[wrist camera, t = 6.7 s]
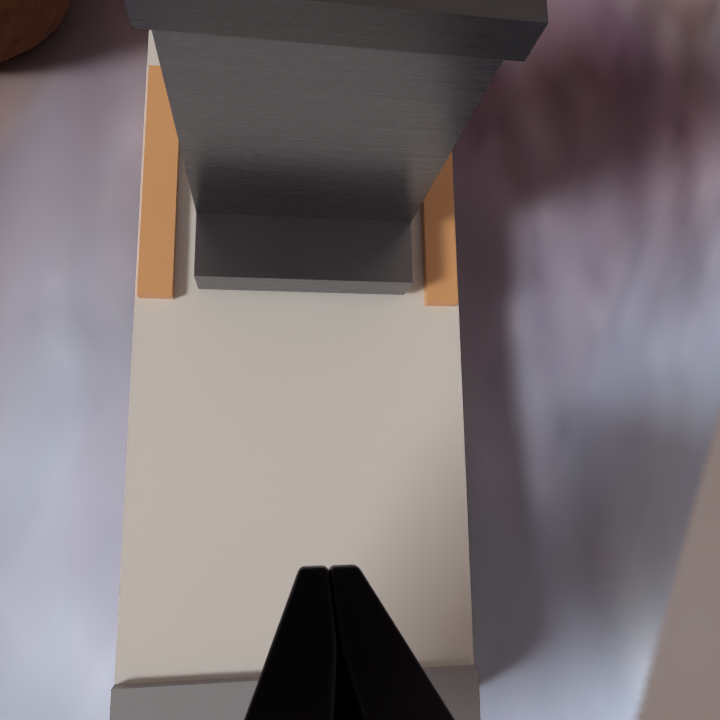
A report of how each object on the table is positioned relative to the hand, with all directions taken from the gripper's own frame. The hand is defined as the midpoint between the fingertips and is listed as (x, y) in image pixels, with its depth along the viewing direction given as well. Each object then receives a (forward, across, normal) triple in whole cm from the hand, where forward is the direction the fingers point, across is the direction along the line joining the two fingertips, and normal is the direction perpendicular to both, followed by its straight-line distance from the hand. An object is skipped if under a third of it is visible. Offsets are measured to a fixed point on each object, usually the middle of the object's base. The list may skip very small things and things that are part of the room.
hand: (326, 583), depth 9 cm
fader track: (+9, 0, +2) cm, 9 cm away
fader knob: (+10, 0, -3) cm, 11 cm away
